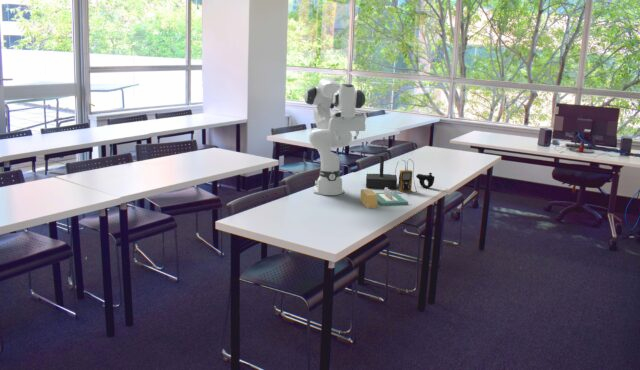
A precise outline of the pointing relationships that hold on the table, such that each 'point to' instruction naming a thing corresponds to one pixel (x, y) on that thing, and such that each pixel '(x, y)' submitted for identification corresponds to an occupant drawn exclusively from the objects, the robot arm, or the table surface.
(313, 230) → the table surface
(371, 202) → the block
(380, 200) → the board
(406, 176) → the multimeter
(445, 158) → the table surface
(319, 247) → the table surface
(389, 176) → the black block with post
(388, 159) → the table surface
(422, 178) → the controller
